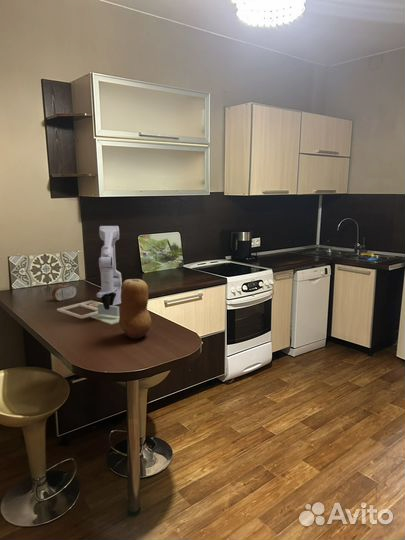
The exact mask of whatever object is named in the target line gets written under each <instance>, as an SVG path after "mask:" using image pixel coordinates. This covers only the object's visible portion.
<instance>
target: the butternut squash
mask: <svg viewBox="0 0 405 540" xmlns="http://www.w3.org/2000/svg"><path fill="white" fill-rule="evenodd" d="M148 303H149V285H148V284H147V282H146V281H144V280H142V279H140V278H132V279H131V278H129V279H125V280H124V281H123V282H122V286H121V303H120V305H121V306H120V307H121V308H120V313H119V316H120V317H119V322H118V323H119V326H120V329H121V330H122V331H123V333H124V334H126V336H127V337H129V338H130V339H132V340H137V339H141V338H142V337H144V336H146V334H147V333H148V332H149V331H150V330H151V328H152V317H151V314H150V313H149V310H148Z"/></svg>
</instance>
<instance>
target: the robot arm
mask: <svg viewBox="0 0 405 540" xmlns="http://www.w3.org/2000/svg"><path fill="white" fill-rule="evenodd" d="M98 229H99V230H98V233H99V237H100V239H101V241H103V245H102V246H101V248H100V249H101V251H100V257H99V258H98V267H99V272H100V283H101V285H100V287H101V289H99V292H96V297H97V298H99V299H100V301H101V303H103V305H104V308H105V309H107V310H109V306H110V305H112V306H117V305H119V304H120V305H121V286H122V284H123V282H122V281H123V278H122V273H121V272H120V271H119V270H117V262H116V241H118V240H120V227H119V226H118V225H100V226H99V228H98Z"/></svg>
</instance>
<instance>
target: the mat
mask: <svg viewBox="0 0 405 540" xmlns="http://www.w3.org/2000/svg"><path fill="white" fill-rule="evenodd" d="M119 317H120V315H119V316H111V315H105V314H96V315H93V316H90V318H91V319H94V320H98V321H100V322H102V323H105V324H108V325H115V324H118V323H119Z"/></svg>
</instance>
